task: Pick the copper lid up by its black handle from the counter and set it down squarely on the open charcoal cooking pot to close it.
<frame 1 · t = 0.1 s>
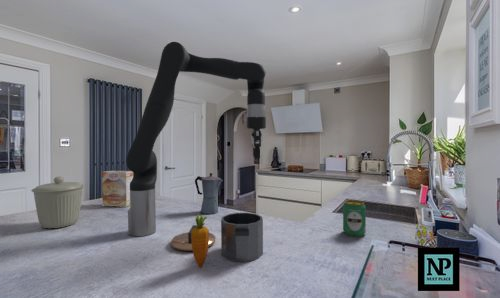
hand: (256, 157, 101), 29 cm above the counter, tool pointing down, fingers open, 8 cm apart
coffeecake box: (118, 205, 144), on the counter
carrot: (200, 268, 72), on the counter
lid: (193, 244, 89), on the counter
cooking pot: (242, 252, 81), on the counter
beverage can: (354, 233, 98), on the counter
moka pot: (208, 212, 129), on the counter
canister: (60, 225, 110), on the counter
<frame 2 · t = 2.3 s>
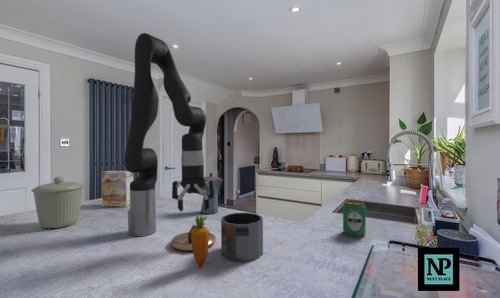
hand: (193, 210, 89), 12 cm above the counter, tool pointing down, fingers open, 8 cm apart
nothing on the counter moved.
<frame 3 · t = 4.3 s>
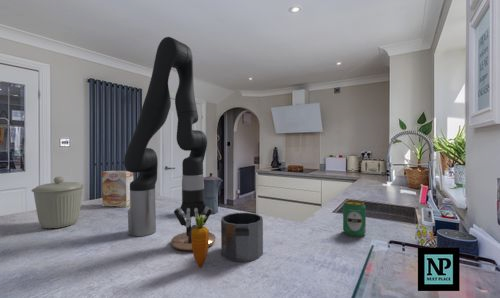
hand: (193, 236, 89), 2 cm above the counter, tool pointing down, fingers closed on lid
lid: (193, 243, 89), on the counter, touching gripper
everything else where it was.
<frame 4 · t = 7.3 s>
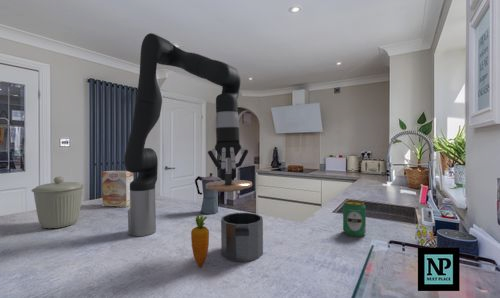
hand: (229, 179, 83), 23 cm above the counter, tool pointing down, fingers closed on lid
lid: (229, 188, 83), point 20 cm above the counter, touching gripper
everything else where it was.
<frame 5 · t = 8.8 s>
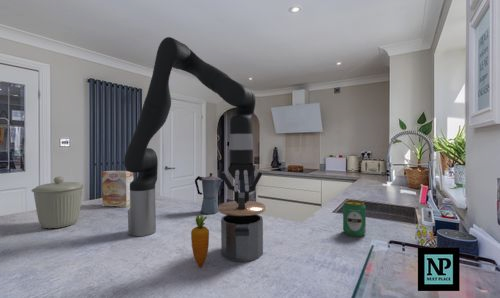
hand: (241, 202, 81), 16 cm above the counter, tool pointing down, fingers closed on lid
lid: (241, 211, 81), point 13 cm above the counter, touching gripper
everything else where it was.
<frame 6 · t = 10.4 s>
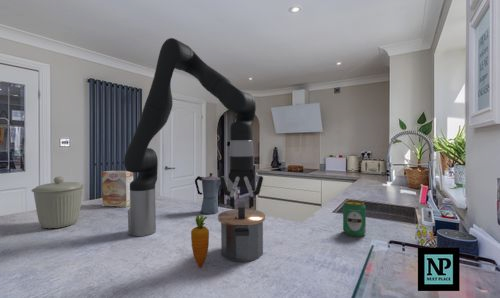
hand: (241, 207, 81), 14 cm above the counter, tool pointing down, fingers open, 4 cm apart
lid: (241, 220, 81), point 10 cm above the counter, touching cooking pot
everything else where it was.
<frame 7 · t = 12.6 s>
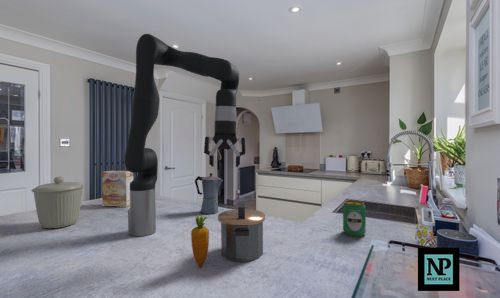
hand: (224, 166, 89), 27 cm above the counter, tool pointing down, fingers open, 8 cm apart
nothing on the counter moved.
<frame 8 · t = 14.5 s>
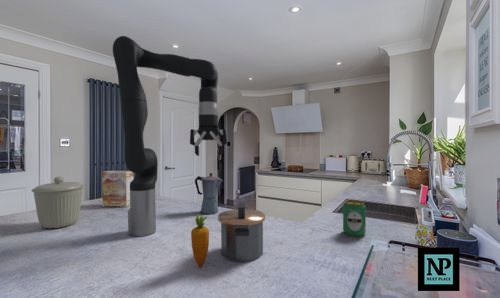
hand: (208, 155, 100), 30 cm above the counter, tool pointing down, fingers open, 8 cm apart
nothing on the counter moved.
at the end: lid 0.1 cm off-centre on the cooking pot, point 10.2 cm above the cooking pot's base; lid tilted 0°; the gripper is holding nothing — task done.
